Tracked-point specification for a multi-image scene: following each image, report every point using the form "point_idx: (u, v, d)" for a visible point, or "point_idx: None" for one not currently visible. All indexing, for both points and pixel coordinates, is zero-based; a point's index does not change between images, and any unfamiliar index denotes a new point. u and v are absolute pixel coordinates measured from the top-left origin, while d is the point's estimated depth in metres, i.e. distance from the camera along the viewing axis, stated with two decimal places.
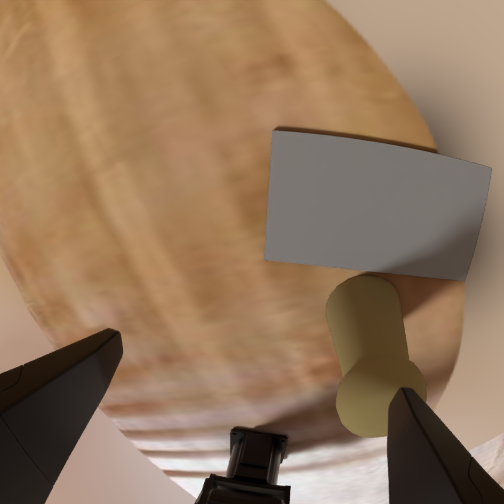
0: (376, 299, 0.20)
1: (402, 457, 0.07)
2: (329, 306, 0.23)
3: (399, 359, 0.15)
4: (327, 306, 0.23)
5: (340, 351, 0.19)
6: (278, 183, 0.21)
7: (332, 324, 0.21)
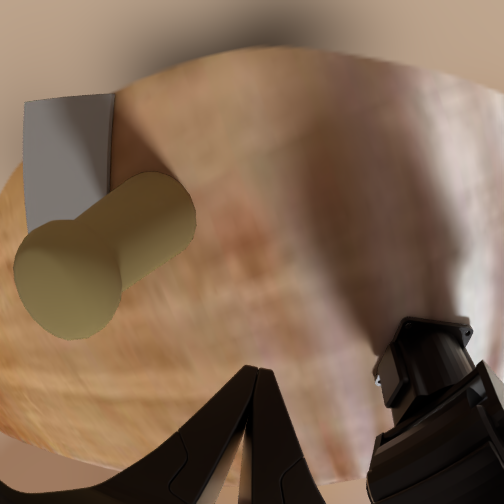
0: None
1: (245, 443, 0.07)
2: None
3: None
4: None
5: None
6: None
7: None
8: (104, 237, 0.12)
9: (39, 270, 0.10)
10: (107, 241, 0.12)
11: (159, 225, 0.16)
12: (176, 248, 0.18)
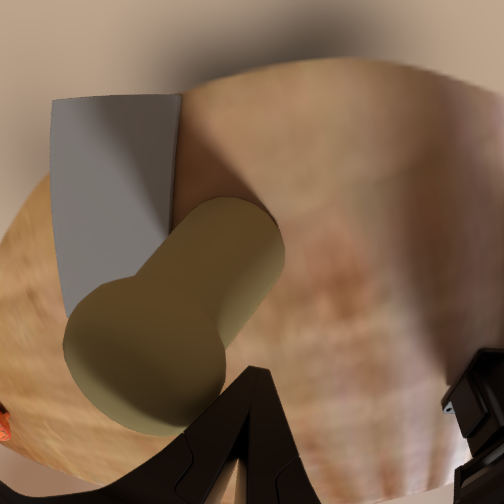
0: None
1: (242, 442, 0.07)
2: None
3: None
4: None
5: None
6: None
7: None
8: (199, 303, 0.10)
9: (113, 364, 0.07)
10: (204, 308, 0.10)
11: (255, 273, 0.13)
12: (265, 295, 0.15)
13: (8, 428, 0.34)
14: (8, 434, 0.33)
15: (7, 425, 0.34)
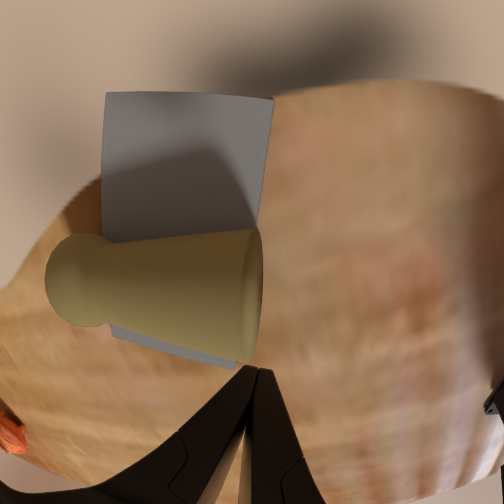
0: None
1: (245, 443, 0.07)
2: None
3: None
4: None
5: None
6: (155, 342, 0.20)
7: None
8: (86, 270, 0.14)
9: None
10: (85, 274, 0.14)
11: (146, 300, 0.12)
12: (191, 345, 0.13)
13: (24, 441, 0.33)
14: (25, 448, 0.32)
15: (23, 438, 0.33)
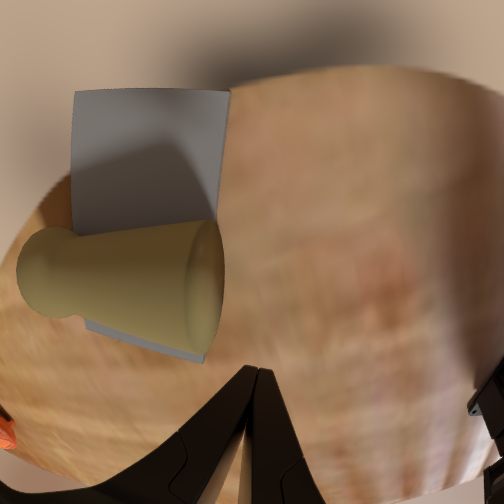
0: None
1: (245, 443, 0.07)
2: None
3: None
4: None
5: None
6: (125, 335, 0.20)
7: None
8: (51, 262, 0.13)
9: None
10: (51, 266, 0.13)
11: (102, 290, 0.12)
12: (145, 336, 0.13)
13: (13, 436, 0.33)
14: (14, 443, 0.32)
15: (12, 433, 0.33)
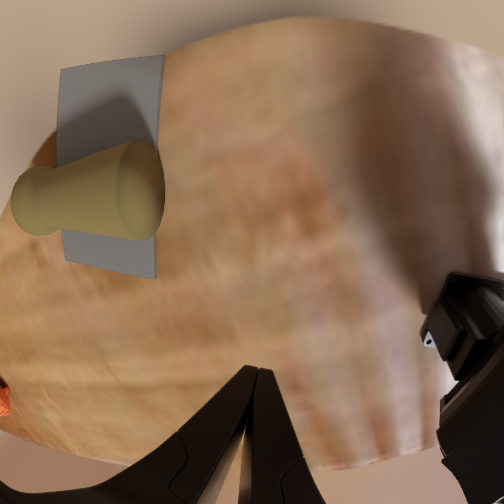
0: None
1: (245, 443, 0.07)
2: None
3: None
4: None
5: None
6: (94, 260, 0.24)
7: None
8: (36, 184, 0.17)
9: None
10: (36, 187, 0.17)
11: (67, 191, 0.16)
12: (94, 223, 0.16)
13: (8, 402, 0.37)
14: (7, 408, 0.36)
15: (7, 399, 0.37)
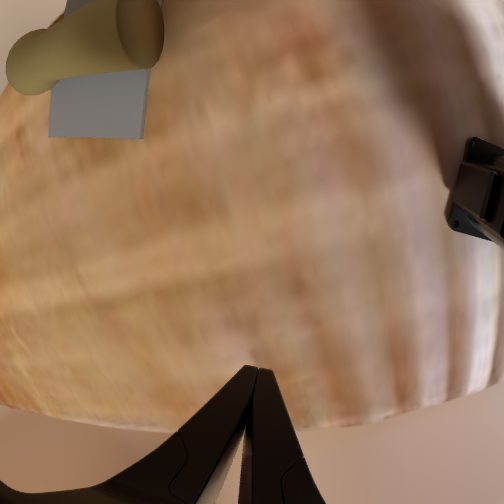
0: None
1: (245, 442, 0.07)
2: None
3: None
4: (140, 68, 0.16)
5: None
6: (78, 129, 0.20)
7: None
8: (37, 36, 0.13)
9: None
10: (35, 38, 0.13)
11: (67, 23, 0.12)
12: (87, 44, 0.13)
13: None
14: None
15: None
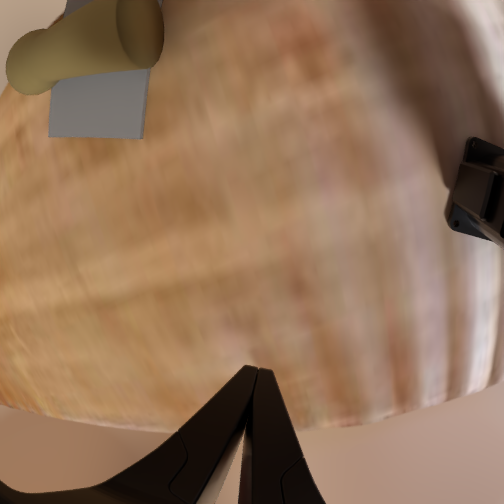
0: None
1: (245, 443, 0.07)
2: None
3: None
4: (140, 69, 0.16)
5: None
6: (79, 129, 0.20)
7: None
8: (37, 35, 0.13)
9: None
10: (35, 38, 0.13)
11: (67, 23, 0.12)
12: (87, 44, 0.13)
13: None
14: None
15: None
